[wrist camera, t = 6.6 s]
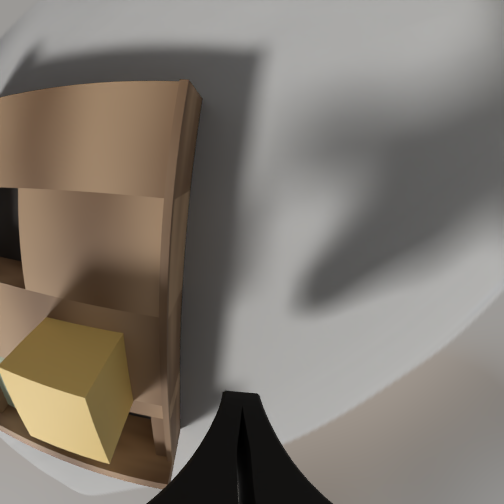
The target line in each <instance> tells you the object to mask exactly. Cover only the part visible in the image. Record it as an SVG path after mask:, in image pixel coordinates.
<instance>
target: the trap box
mask: <svg viewBox="0 0 504 504" xmlns="http://www.w3.org/2000/svg"><path fill="white" fill-rule="evenodd" d="M201 104H202V98H201V96H200V95H199V93H198V92H197V91H196V89H195V88H194V86H193V85H192V84H191V82H190V81H189V80H184V79H180V80H179V81H121V82H102V83H89V84H78V85H69V86H61V87H54V88H47V89H40V90H34V91H29V92H23V93H18V94H13V95H9V96H4V97H0V363H1V362H2V361H3V360H4V359H5V358H6V357H7V356H8V355H9V354H10V353H11V352H12V351H13V350H14V349H15V348H16V347H17V346H18V344H19V343H20V342H21V341H22V340H23V339H24V338H25V337H26V336H27V335H28V334H29V333H30V332H31V331H32V330H34V329H35V328H36V327H37V326H38V325H39V324H40V323H41V322H42V321H43V320H44V319H45V318H46V317H48V318H52V319H57V320H61V321H65V322H70V323H74V324H79V325H83V326H88V327H93V328H98V329H103V330H109V331H114V332H119V333H123V334H124V343H125V351H126V358H127V365H128V372H129V378H130V384H131V390H132V395H133V403H132V406H131V409H130V411H129V414H128V416H127V419H126V422H125V424H124V427H123V429H122V432H121V435H120V438H119V440H118V443H117V446H116V448H115V451H114V454H113V457H112V460H111V462H110V464H107V463H104V462H100V461H97V460H94V459H91V458H88V457H84V456H81V455H78V454H76V453H73V452H70V451H67V450H64V449H62V448H59V447H57V446H54V445H52V444H49V443H47V442H44V441H42V440H40V439H37V438H35V437H33V436H31V435H30V434H29V432H28V430H27V428H26V426H25V425H24V423H23V421H22V419H21V417H20V415H19V413H18V411H17V409H16V407H15V405H14V403H13V401H12V399H11V397H10V395H9V393H8V390H7V388H6V386H5V384H4V381H3V379H2V376H1V374H0V430H1V431H2V432H4V433H6V434H8V435H10V436H12V437H13V438H15V439H17V440H19V441H21V442H23V443H25V444H27V445H29V446H31V447H33V448H36V449H38V450H40V451H42V452H44V453H47V454H49V455H51V456H54V457H56V458H58V459H61V460H63V461H66V462H69V463H71V464H74V465H76V466H79V467H82V468H85V469H88V470H91V471H94V472H97V473H100V474H103V475H106V476H110V477H113V478H117V479H120V480H124V481H128V482H132V483H136V484H140V485H144V486H149V487H154V488H159V489H164V488H165V487H166V486H167V485H168V484H169V483H170V482H171V476H172V471H173V465H174V460H175V455H176V450H177V444H178V439H179V434H180V334H181V306H182V286H183V269H184V255H185V241H186V229H187V218H188V207H189V197H190V188H191V179H192V170H193V162H194V154H195V146H196V139H197V131H198V124H199V118H200V111H201Z"/></svg>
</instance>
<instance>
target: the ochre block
mask: <svg viewBox="0 0 504 504" xmlns="http://www.w3.org/2000/svg"><path fill="white" fill-rule="evenodd" d="M0 374H1V376H2V379H3V381H4V384H5V386H6V388H7V390H8V393H9V395H10V397H11V399H12V401H13V403H14V405H15V407H16V409H17V411H18V413H19V415H20V417H21V419H22V421H23V423H24V425H25V426H26V428H27V430H28V432H29V434H30V435H31V436H33V437H35V438H37V439H40V440H42V441H44V442H47V443H49V444H52V445H54V446H57V447H59V448H62V449H64V450H67V451H70V452H73V453H76V454H78V455H81V456H84V457H88V458H91V459H94V460H97V461H100V462H104V463H107V464H110V462H111V460H112V457H113V454H114V451H115V448H116V446H117V443H118V440H119V438H120V435H121V432H122V429H123V427H124V424H125V422H126V419H127V416H128V414H129V411H130V409H131V406H132V403H133V395H132V390H131V384H130V378H129V372H128V365H127V358H126V351H125V343H124V334H123V333H119V332H114V331H109V330H103V329H98V328H93V327H88V326H83V325H79V324H74V323H70V322H65V321H61V320H57V319H52V318H48V317H46V318H45V319H44V320H43V321H42V322H41V323H40V324H39V325H38V326H37V327H36V328H35V329H34V330H32V331H31V332H30V333H29V334H28V335H27V336H26V337H25V338H24V339H23V340H22V341H21V342H20V343H19V344H18V346H17V347H16V348H15V349H14V350H13V351H12V352H11V353H10V354H9V355H8V356H7V357H6V358H5V359H4V360H3V361H2V362H1V363H0Z"/></svg>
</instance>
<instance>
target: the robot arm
mask: <svg viewBox="0 0 504 504" xmlns="http://www.w3.org/2000/svg"><path fill="white" fill-rule="evenodd" d="M237 481H238V484H237ZM238 497H239V502H238ZM147 504H333V503H331V502H330V501H329V500H328V499H327V498H325V497H324V496H323V495H322V494H321V493H320V492H319V491H318V490H317V489H316V488H315V487H314V486H313V485H312V484H311V483H310V482H309V481H308V480H307V478H306V477H305V476H304V475H303V474H302V473H301V472H300V470H299V469H298V468H297V466H296V465H295V464H294V463H293V461H292V460H291V458H290V457H289V455H288V454H287V452H286V451H285V449H284V448H283V446H282V444H281V443H280V441H279V439H278V437H277V436H276V434H275V432H274V430H273V428H272V426H271V424H270V422H269V420H268V417H267V415H266V413H265V410H264V408H263V405H262V402H261V399H260V396H259V395H258V394H257V393H245V392H234V391H224V392H223V394H222V399H221V403H220V406H219V409H218V411H217V414H216V416H215V418H214V420H213V422H212V424H211V427H210V429H209V430H208V432H207V434H206V436H205V437H204V439H203V441H202V442H201V444H200V446H199V447H198V449H197V450H196V452H195V453H194V454H193V456H192V457H191V459H190V460H189V461H188V462H187V464H186V465H185V466H184V467H183V469H182V470H181V471H180V472H179V473H178V474H177V476H176V477H175V478H174V479H173V480H172V481H171V482H170V483H169V484H168V485H167V486H166V487H165V488H164V489H163V490H162V491H161V492H160V493H159V494H157V495H156V496H155V497H154V498H153V499H152V500H151V501H149V502H148V503H147Z"/></svg>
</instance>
